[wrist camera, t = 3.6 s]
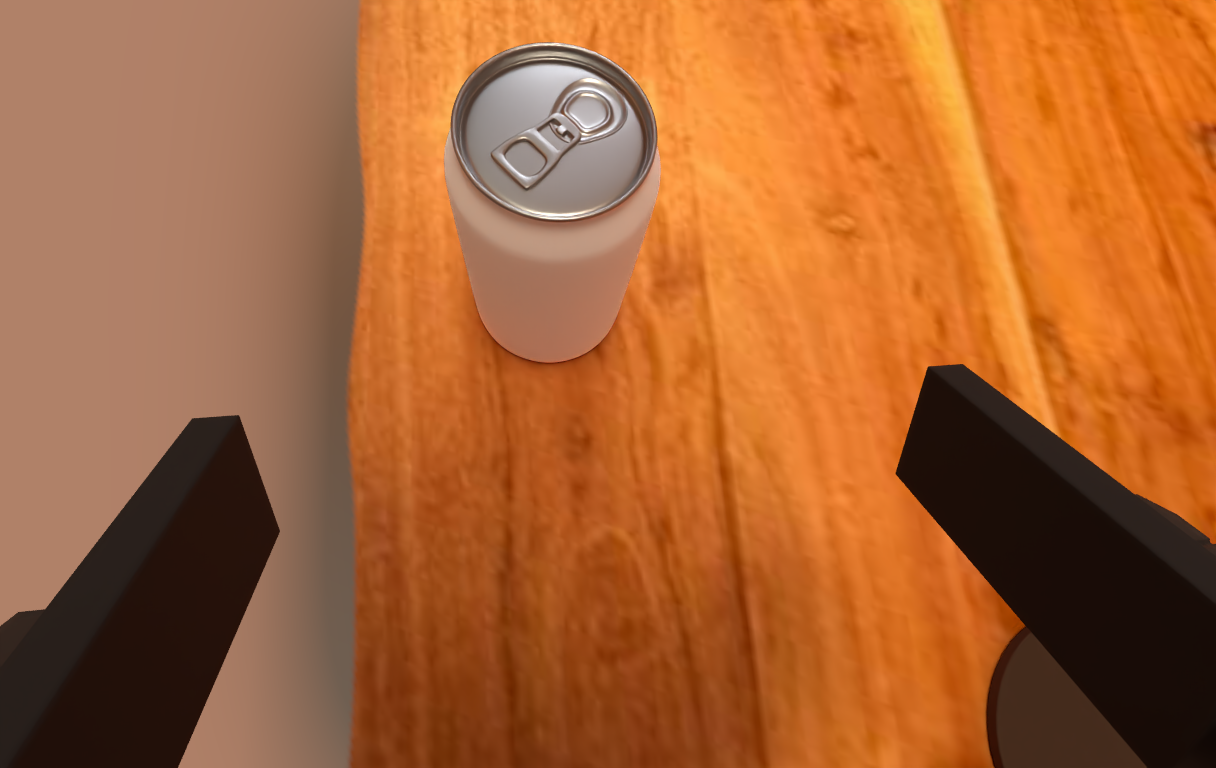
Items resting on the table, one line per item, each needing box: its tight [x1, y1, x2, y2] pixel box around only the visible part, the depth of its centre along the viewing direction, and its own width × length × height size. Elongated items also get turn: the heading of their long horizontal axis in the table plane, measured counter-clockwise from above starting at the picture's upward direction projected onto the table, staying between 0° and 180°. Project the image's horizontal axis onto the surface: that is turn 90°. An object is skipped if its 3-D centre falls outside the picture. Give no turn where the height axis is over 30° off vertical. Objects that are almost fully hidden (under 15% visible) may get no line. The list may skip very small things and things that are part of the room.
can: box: [444, 42, 661, 362], centre depth 23 cm, size 6×6×12 cm
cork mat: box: [987, 627, 1147, 768], centre depth 26 cm, size 10×10×1 cm
